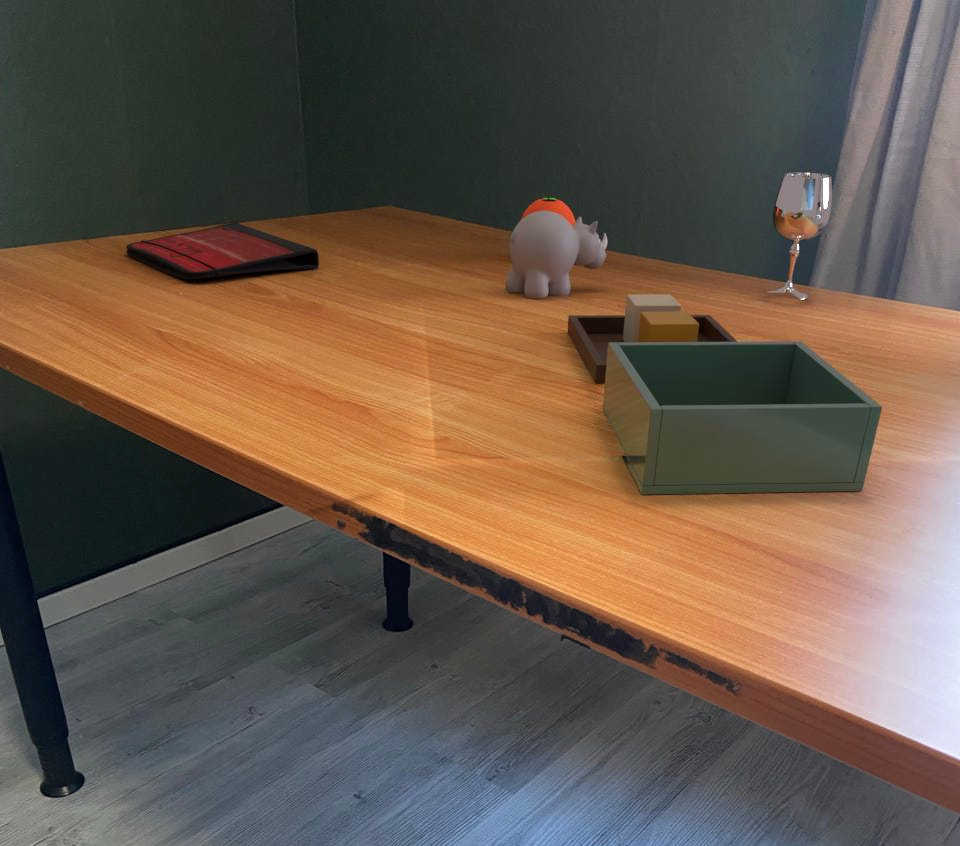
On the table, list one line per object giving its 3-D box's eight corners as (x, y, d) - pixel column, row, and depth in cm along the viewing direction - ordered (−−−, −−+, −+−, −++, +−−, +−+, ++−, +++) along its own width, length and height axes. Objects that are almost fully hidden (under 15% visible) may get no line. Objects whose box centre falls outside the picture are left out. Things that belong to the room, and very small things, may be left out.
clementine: (518, 250, 127) (520, 190, 123) (572, 251, 127) (576, 191, 123) (518, 263, 121) (520, 200, 117) (575, 265, 120) (579, 201, 117)
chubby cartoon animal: (623, 295, 108) (631, 211, 103) (529, 307, 103) (533, 219, 98) (586, 281, 113) (591, 201, 108) (494, 292, 108) (496, 208, 103)
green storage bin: (787, 414, 76) (801, 341, 73) (862, 491, 64) (882, 406, 61) (601, 416, 75) (607, 342, 72) (641, 494, 63) (651, 409, 60)
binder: (237, 220, 129) (319, 247, 115) (240, 239, 131) (321, 268, 117) (118, 238, 121) (190, 270, 107) (122, 258, 123) (194, 292, 109)
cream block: (665, 339, 91) (670, 294, 89) (675, 351, 88) (681, 305, 86) (622, 339, 91) (626, 294, 89) (631, 351, 87) (635, 305, 85)
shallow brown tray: (707, 337, 94) (710, 314, 93) (757, 389, 81) (761, 363, 80) (567, 338, 93) (568, 315, 92) (594, 390, 80) (596, 364, 79)
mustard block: (681, 358, 86) (687, 311, 84) (693, 372, 83) (699, 323, 80) (636, 358, 86) (640, 311, 84) (645, 372, 82) (650, 323, 80)
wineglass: (781, 286, 112) (800, 170, 106) (824, 296, 108) (848, 176, 102) (749, 294, 109) (767, 174, 102) (793, 304, 105) (815, 181, 99)
